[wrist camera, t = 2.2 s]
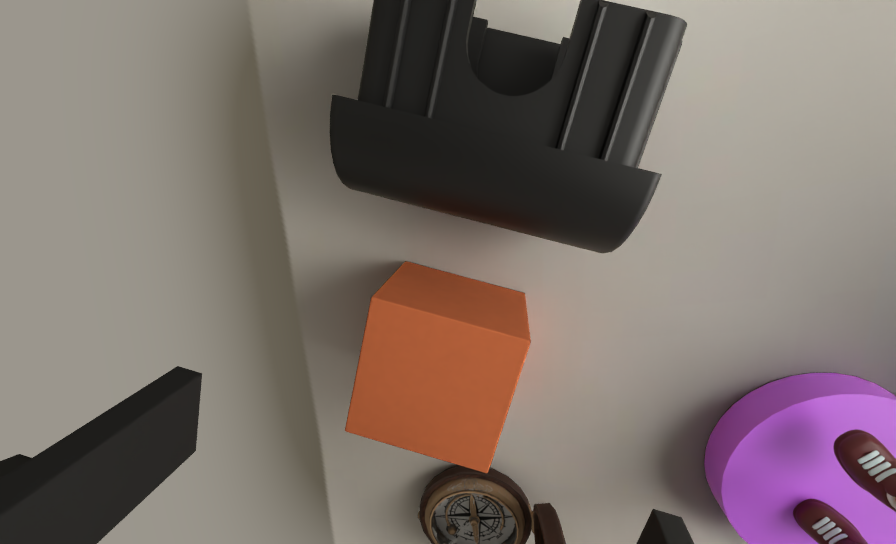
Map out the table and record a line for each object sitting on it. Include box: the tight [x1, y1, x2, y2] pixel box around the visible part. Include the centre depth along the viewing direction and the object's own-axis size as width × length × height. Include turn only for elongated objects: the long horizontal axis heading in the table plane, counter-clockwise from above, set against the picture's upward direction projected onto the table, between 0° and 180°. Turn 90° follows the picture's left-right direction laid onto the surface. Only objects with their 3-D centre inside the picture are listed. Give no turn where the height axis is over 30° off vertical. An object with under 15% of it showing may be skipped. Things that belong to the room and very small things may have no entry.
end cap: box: [330, 0, 687, 253], centre depth 16 cm, size 10×7×7 cm
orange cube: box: [345, 261, 531, 473], centre depth 19 cm, size 6×6×6 cm
